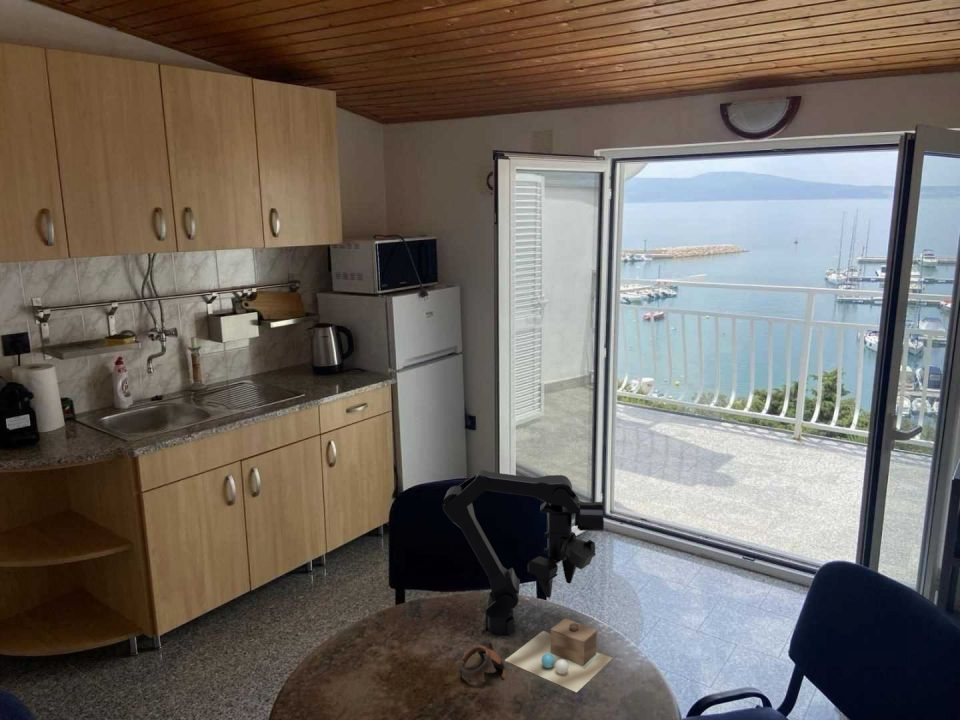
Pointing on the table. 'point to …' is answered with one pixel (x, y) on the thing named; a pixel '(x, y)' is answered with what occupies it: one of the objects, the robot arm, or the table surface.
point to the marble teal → (548, 660)
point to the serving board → (540, 646)
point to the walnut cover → (573, 641)
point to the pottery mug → (488, 658)
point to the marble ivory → (561, 666)
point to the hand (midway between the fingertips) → (558, 589)
